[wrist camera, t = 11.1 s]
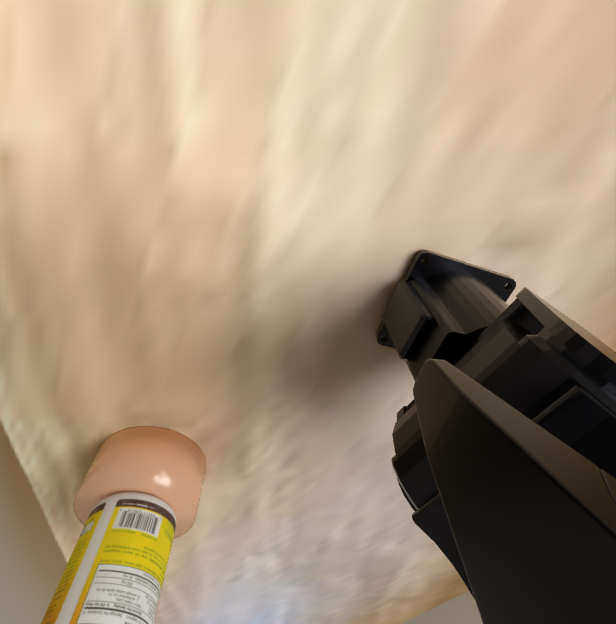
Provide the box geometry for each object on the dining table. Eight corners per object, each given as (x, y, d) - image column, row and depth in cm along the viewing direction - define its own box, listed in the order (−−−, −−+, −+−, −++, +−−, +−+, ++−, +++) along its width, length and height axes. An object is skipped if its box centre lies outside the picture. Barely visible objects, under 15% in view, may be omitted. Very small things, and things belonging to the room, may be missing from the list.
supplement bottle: (113, 539, 27) (32, 757, 18) (79, 493, 24) (-38, 726, 15) (189, 529, 27) (144, 743, 18) (163, 482, 24) (95, 709, 15)
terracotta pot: (215, 437, 28) (206, 486, 24) (196, 499, 32) (185, 550, 28) (102, 417, 26) (74, 467, 23) (96, 485, 30) (71, 537, 26)
